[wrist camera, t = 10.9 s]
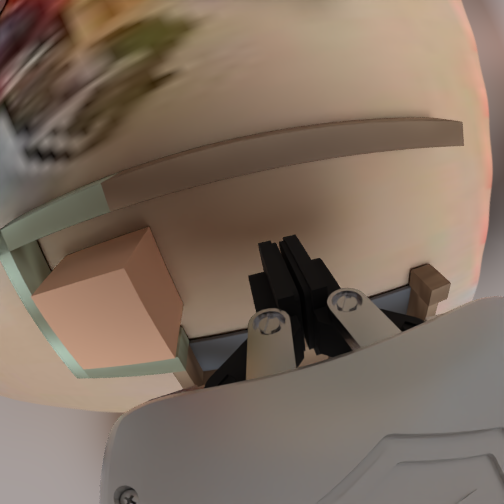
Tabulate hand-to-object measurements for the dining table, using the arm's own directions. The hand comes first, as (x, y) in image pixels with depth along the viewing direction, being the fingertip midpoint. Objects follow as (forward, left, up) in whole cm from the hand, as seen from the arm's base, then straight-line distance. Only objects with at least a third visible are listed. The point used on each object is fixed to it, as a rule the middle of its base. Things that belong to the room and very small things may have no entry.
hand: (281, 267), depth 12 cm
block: (+1, -10, -5) cm, 11 cm away
